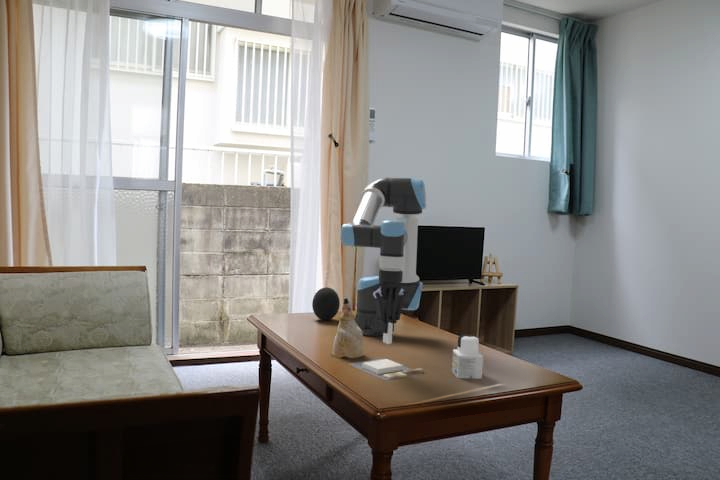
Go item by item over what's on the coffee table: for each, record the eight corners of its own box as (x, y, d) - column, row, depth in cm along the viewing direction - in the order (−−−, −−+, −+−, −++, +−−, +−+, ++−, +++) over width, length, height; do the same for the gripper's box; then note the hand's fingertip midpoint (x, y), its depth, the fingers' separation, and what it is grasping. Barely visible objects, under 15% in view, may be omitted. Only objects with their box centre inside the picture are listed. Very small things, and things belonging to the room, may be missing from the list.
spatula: (418, 370, 180) (418, 367, 180) (425, 372, 177) (425, 369, 177) (382, 376, 171) (382, 373, 171) (388, 379, 169) (389, 376, 168)
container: (451, 372, 181) (453, 332, 180) (474, 373, 182) (477, 333, 181) (457, 379, 173) (460, 338, 173) (482, 380, 174) (484, 338, 173)
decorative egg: (327, 316, 264) (328, 284, 263) (344, 321, 255) (346, 288, 254) (306, 319, 256) (307, 286, 255) (323, 324, 246) (324, 290, 246)
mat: (383, 360, 192) (383, 358, 192) (423, 375, 176) (423, 373, 176) (347, 365, 183) (347, 363, 183) (385, 382, 167) (386, 380, 167)
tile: (386, 359, 185) (362, 362, 179) (402, 365, 179) (377, 369, 173) (386, 363, 185) (362, 367, 179) (402, 370, 179) (377, 374, 173)
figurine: (340, 361, 188) (343, 302, 187) (325, 353, 197) (328, 297, 196) (369, 358, 194) (372, 300, 193) (354, 350, 203) (356, 295, 202)
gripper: (399, 267, 185) (395, 338, 186) (367, 268, 177) (363, 342, 179) (414, 270, 179) (410, 343, 180) (382, 271, 171) (378, 347, 173)
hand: (387, 342), depth 180 cm, fingers closed
